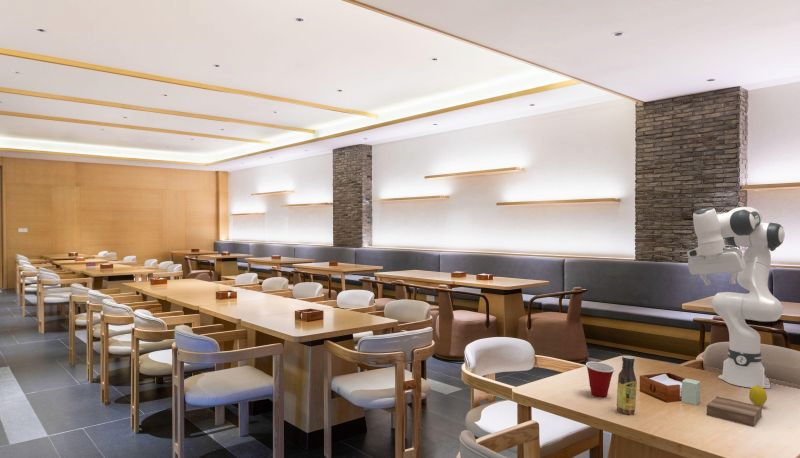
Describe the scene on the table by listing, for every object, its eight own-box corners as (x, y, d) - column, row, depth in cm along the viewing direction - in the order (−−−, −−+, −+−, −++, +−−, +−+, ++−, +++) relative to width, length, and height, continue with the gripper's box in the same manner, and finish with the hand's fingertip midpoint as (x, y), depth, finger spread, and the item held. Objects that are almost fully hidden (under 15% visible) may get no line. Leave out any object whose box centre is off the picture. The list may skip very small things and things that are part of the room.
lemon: (769, 409, 187) (770, 388, 187) (752, 408, 188) (753, 387, 188) (762, 404, 193) (762, 383, 192) (745, 403, 194) (746, 382, 194)
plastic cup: (604, 402, 191) (605, 371, 191) (579, 394, 200) (580, 364, 200) (619, 397, 198) (620, 366, 197) (595, 389, 206) (595, 360, 206)
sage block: (685, 398, 197) (686, 378, 197) (699, 402, 194) (700, 381, 194) (681, 401, 194) (682, 381, 194) (696, 405, 190) (696, 384, 190)
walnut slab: (716, 406, 190) (716, 396, 190) (761, 417, 180) (761, 406, 180) (706, 416, 180) (706, 405, 180) (753, 428, 171) (753, 416, 171)
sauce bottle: (627, 416, 177) (628, 360, 177) (612, 410, 183) (614, 356, 183) (639, 413, 180) (641, 358, 180) (624, 407, 186) (626, 354, 186)
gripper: (745, 245, 188) (753, 281, 187) (692, 250, 206) (699, 284, 205) (735, 247, 185) (744, 284, 184) (682, 253, 203) (690, 287, 202)
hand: (720, 284), depth 195 cm, fingers open, 8 cm apart
